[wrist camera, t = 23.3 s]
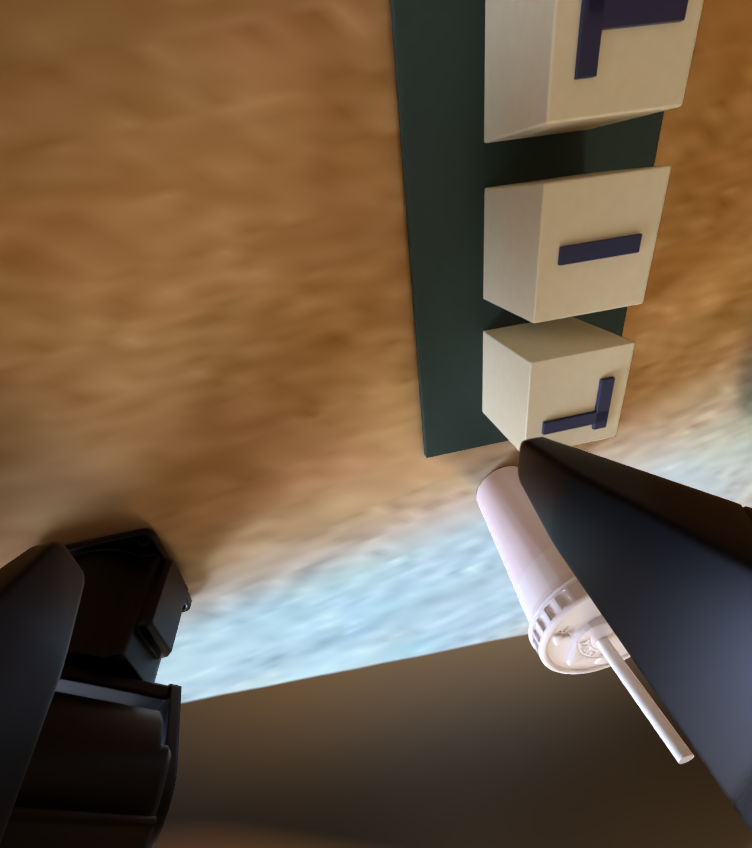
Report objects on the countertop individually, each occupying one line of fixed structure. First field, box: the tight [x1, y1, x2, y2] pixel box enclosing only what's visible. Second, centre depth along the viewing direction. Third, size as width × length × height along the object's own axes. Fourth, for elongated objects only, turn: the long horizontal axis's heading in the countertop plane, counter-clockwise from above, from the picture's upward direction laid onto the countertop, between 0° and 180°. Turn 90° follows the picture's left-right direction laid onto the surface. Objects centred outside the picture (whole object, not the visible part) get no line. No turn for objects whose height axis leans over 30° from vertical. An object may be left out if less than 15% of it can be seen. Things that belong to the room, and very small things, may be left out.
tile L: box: [482, 317, 635, 451], centre depth 19 cm, size 4×4×5 cm
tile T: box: [484, 0, 704, 143], centre depth 13 cm, size 4×4×5 cm
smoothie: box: [477, 466, 694, 764], centre depth 19 cm, size 6×6×14 cm
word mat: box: [390, 0, 664, 458], centre depth 18 cm, size 11×20×1 cm, turn 7°
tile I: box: [483, 165, 671, 323], centre depth 16 cm, size 4×4×5 cm
